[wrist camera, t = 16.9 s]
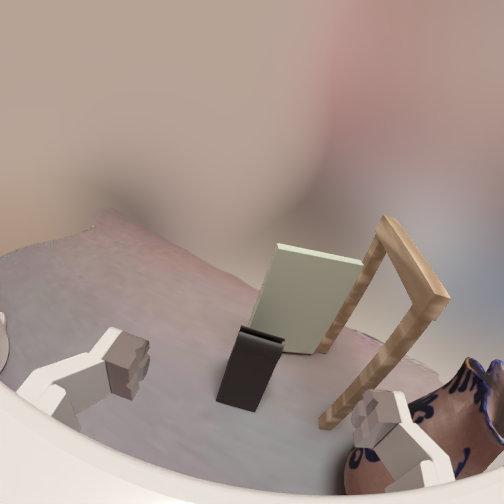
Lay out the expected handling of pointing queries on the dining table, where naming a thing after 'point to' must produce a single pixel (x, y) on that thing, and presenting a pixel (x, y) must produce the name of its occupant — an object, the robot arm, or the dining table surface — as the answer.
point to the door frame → (410, 328)
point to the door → (303, 295)
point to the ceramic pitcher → (446, 428)
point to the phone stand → (250, 368)
